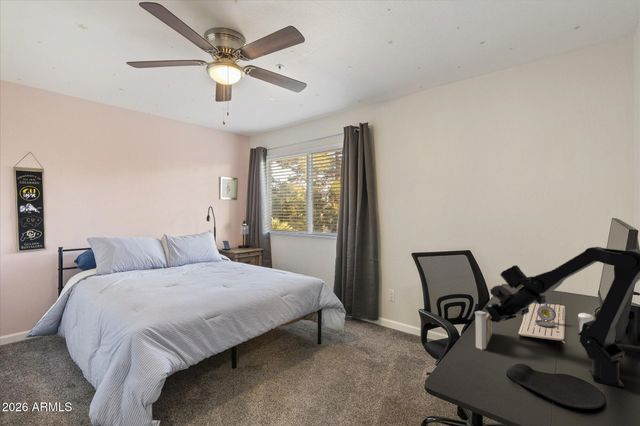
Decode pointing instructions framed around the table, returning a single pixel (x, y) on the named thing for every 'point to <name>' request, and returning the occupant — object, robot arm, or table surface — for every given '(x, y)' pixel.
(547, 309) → the pocket watch
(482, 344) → the gate post
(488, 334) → the gate
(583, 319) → the milkshake
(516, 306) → the robot arm
